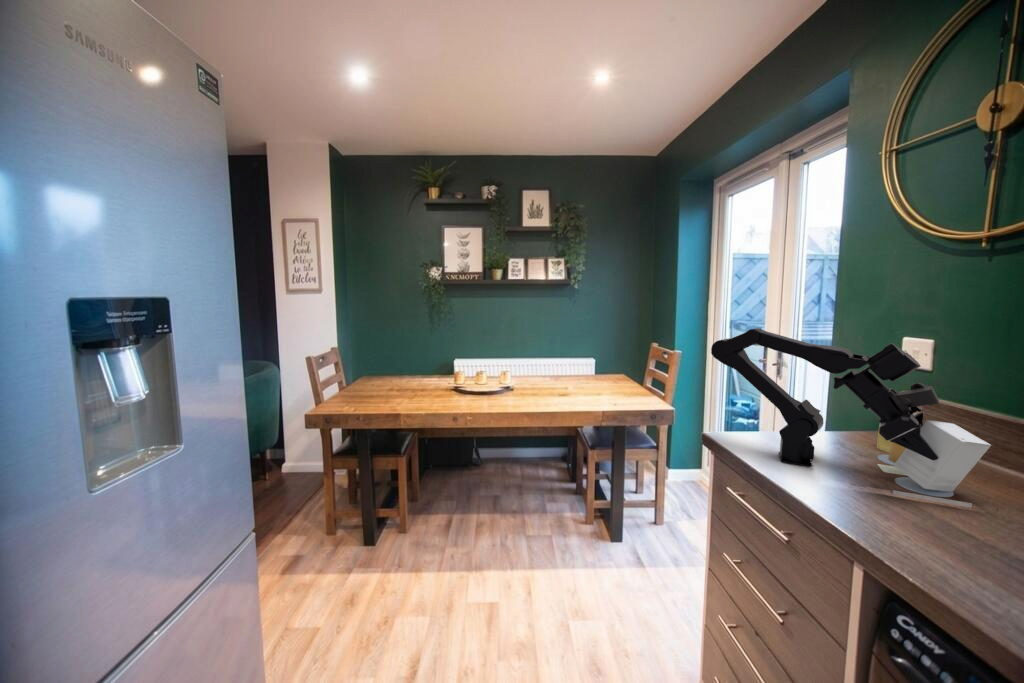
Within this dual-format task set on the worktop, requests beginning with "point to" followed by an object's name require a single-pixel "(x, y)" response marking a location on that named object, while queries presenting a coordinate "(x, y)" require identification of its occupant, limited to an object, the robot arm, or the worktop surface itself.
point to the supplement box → (943, 456)
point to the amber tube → (895, 451)
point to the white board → (917, 486)
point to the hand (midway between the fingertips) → (936, 453)
